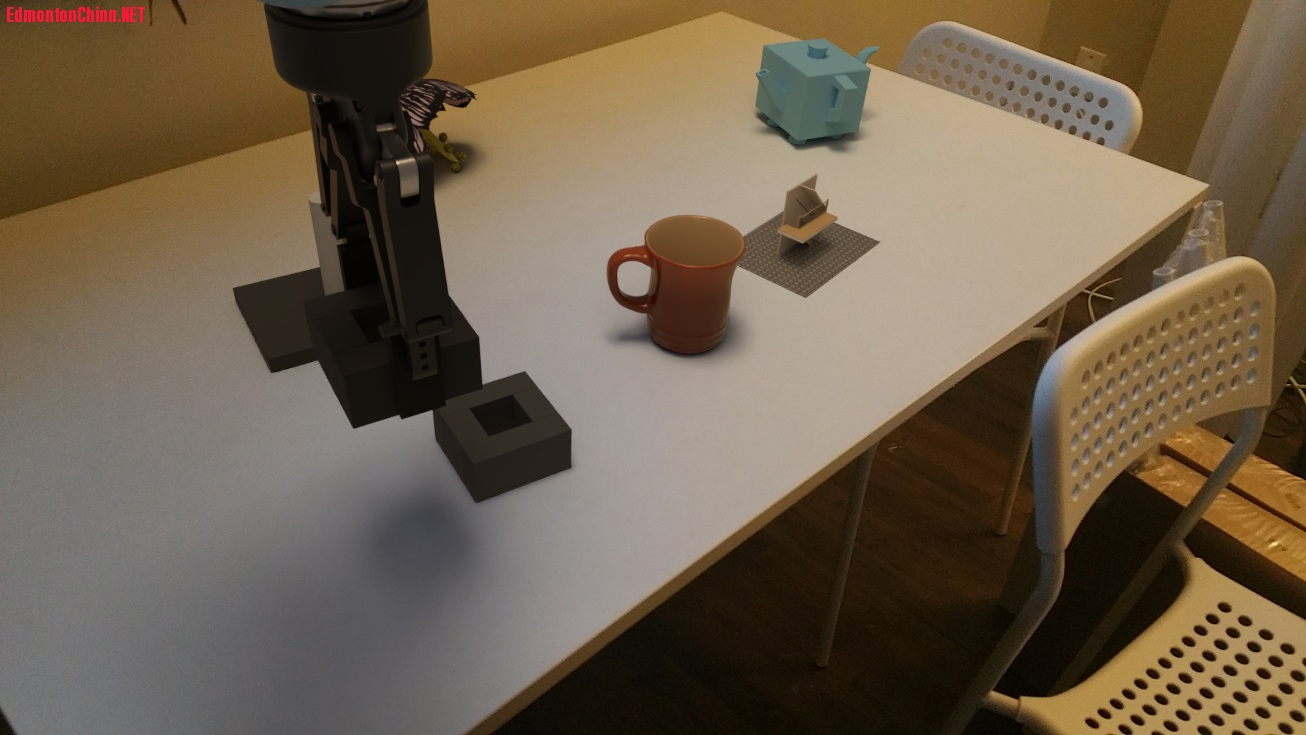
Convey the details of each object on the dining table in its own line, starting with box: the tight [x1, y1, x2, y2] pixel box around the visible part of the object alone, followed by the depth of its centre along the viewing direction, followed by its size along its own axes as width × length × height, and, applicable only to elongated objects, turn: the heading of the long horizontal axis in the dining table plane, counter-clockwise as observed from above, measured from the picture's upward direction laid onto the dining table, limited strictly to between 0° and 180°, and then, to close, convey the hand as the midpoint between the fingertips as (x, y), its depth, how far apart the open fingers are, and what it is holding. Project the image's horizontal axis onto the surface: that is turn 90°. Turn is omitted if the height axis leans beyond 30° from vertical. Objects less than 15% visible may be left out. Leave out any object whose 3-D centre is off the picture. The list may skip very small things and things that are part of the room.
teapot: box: [754, 37, 881, 145], centre depth 125 cm, size 16×18×11 cm
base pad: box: [232, 189, 344, 373], centre depth 87 cm, size 16×12×12 cm
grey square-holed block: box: [431, 370, 573, 503], centre depth 76 cm, size 8×8×4 cm
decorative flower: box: [399, 78, 478, 173], centre depth 111 cm, size 15×12×15 cm
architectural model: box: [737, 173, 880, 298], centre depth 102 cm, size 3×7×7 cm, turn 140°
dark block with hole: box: [304, 282, 484, 430], centre depth 59 cm, size 8×8×4 cm
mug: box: [606, 214, 746, 355], centre depth 88 cm, size 12×9×10 cm
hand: (396, 367), depth 61 cm, fingers closed on dark block with hole, 8 cm apart
